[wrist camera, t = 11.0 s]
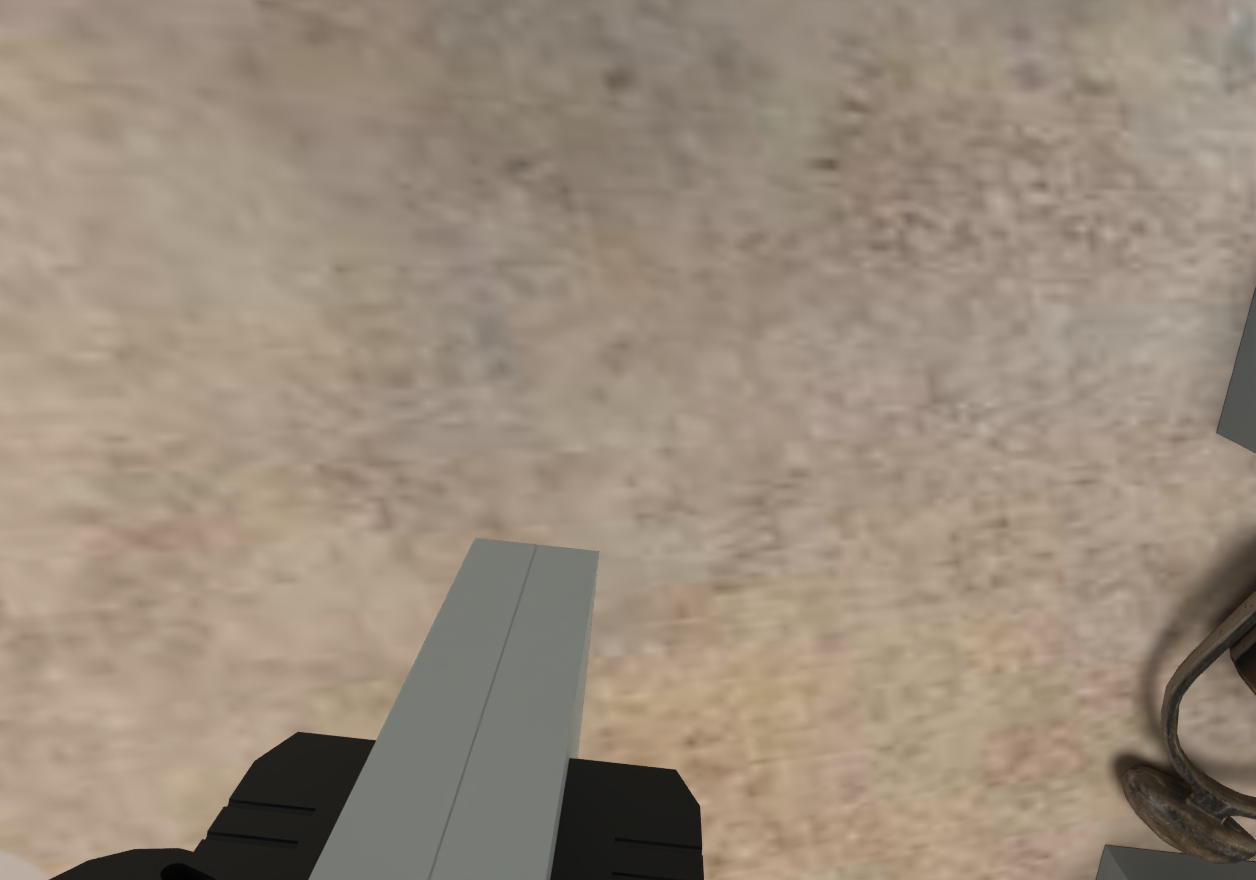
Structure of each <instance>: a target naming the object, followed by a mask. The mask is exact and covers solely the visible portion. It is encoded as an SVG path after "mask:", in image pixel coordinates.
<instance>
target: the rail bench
mask: <svg viewBox="0 0 1256 880" xmlns="http://www.w3.org/2000/svg"><path fill="white" fill-rule="evenodd" d="M1217 434H1219V435H1221V436H1223V437H1225V438H1227V439H1229V440H1231V441H1233V442H1235V443H1237V444H1239V445H1241V446H1243V447H1245V448H1247V449H1249V450H1250V451H1252V452H1254V453H1256V289H1255V293H1254V297H1253V300H1252V304H1251V308H1250V312H1249V315H1248V319H1247V323H1246V326H1245V330H1244V334H1243V338H1242V341H1241V345H1240V349H1239V352H1238V356H1237V360H1236V363H1235V367H1234V371H1233V375H1232V378H1231V382H1230V386H1229V389H1228V393H1227V397H1226V400H1225V404H1224V408H1223V412H1222V415H1221V419H1220V423H1219V426H1218V430H1217ZM1096 880H1256V862H1250V861H1242V862H1239V863H1236V864H1215V863H1212V862H1209V861H1205V860H1202V859H1199V858H1196V857H1193V856H1190V855H1187V854H1179V853H1170V852H1161V851H1153V850H1144V849H1135V848H1126V847H1117V846H1108V845H1105V849H1104V852H1103V856H1102V860H1101V863H1100V867H1099V871H1098V875H1097V878H1096Z"/></svg>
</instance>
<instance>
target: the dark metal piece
mask: <svg viewBox="0 0 1256 880" xmlns="http://www.w3.org/2000/svg"><path fill="white" fill-rule="evenodd" d="M1228 648H1229V649H1230V656H1231V659H1232V661H1233V663H1234V665H1235V667H1236V669H1237V671H1238V673H1239V675H1240V676H1241V678H1242V679H1243V680H1244V681H1245V683H1246V684H1247V685H1248V686H1249V688H1250V689H1251V690H1252V691H1253V693H1254V694H1255V695H1256V590H1255V591H1254V592H1253V593H1252V594H1251V595H1250V596H1249V597H1248V598H1247V599H1246V600H1245V601H1244V602H1243V603H1242V604H1241V605H1240V606H1239V607H1238V608H1237V609H1236V610H1235V611H1234V612H1233V613H1232V614H1231V615H1230V616H1228V617H1227V618H1226V619H1225V620H1224V621H1223V622H1222V623H1221V624H1220V625H1219V626H1218V627H1217V628H1216V629H1215V630H1214V631H1213V632H1212V633H1211V634H1210V635H1209V636H1208V637H1207V638H1206V639H1205V640H1204V641H1203V642H1202V643H1201V644H1200V645H1199V646H1198V647H1197V648H1196V649H1195V650H1194V651H1193V652H1192V653H1191V654H1190V655H1189V656H1188V657H1187V658H1186V659H1185V660H1184V661H1183V663H1182V664H1181V665H1180V666H1179V667H1178V669H1177V670H1176V672H1175V673H1174V675H1173V676H1172V678H1171V680H1170V681H1169V683H1168V684H1167V686H1166V690H1165V695H1164V700H1163V705H1162V710H1161V723H1160V724H1161V729H1162V734H1163V739H1164V743H1165V747H1166V750H1167V753H1168V756H1169V759H1170V761H1171V762H1172V764H1173V766H1174V768H1175V770H1176V771H1177V772H1178V773H1179V774H1180V775H1181V776H1182V777H1183V778H1184V780H1185V781H1186V782H1187V783H1184V782H1182V781H1180V780H1177V779H1175V778H1173V777H1170V776H1168V775H1166V774H1163V773H1161V772H1159V771H1156V770H1154V769H1152V768H1148V767H1145V766H1137V767H1133V768H1131V769H1129V770H1127V771H1126V772H1125V773H1124V775H1123V777H1122V786H1123V790H1124V793H1125V797H1126V799H1127V800H1128V802H1129V803H1130V805H1131V807H1132V808H1133V810H1134V811H1135V813H1136V814H1137V815H1138V816H1139V817H1140V818H1141V819H1142V821H1143V822H1144V823H1145V824H1146V825H1147V826H1148V827H1149V828H1150V829H1151V830H1152V831H1153V832H1154V833H1155V834H1156V835H1157V836H1158V837H1159V838H1161V839H1162V840H1163V841H1165V842H1166V843H1167V844H1169V845H1170V846H1172V847H1174V848H1176V849H1178V850H1180V851H1182V852H1183V853H1185V854H1187V855H1190V856H1193V857H1196V858H1199V859H1202V860H1205V861H1209V862H1212V863H1215V864H1236V863H1239V862H1242V861H1245V860H1247V859H1250V858H1252V857H1253V856H1255V855H1256V840H1255V839H1254V838H1253V837H1252V836H1251V835H1250V834H1249V833H1248V832H1247V831H1246V830H1245V829H1243V828H1242V827H1241V826H1240V825H1239V824H1238V823H1237V822H1236V821H1235V820H1233V819H1232V818H1231V817H1230V816H1242V817H1247V818H1251V819H1256V797H1252V796H1248V795H1244V794H1241V793H1239V792H1236V791H1234V790H1232V789H1230V788H1228V787H1225V786H1223V785H1222V784H1220V783H1219V782H1217V781H1215V780H1214V779H1212V778H1210V777H1209V776H1207V775H1206V774H1204V773H1202V772H1201V771H1200V770H1199V769H1198V768H1197V767H1196V766H1195V765H1194V764H1193V763H1192V762H1191V761H1190V760H1189V759H1188V758H1187V756H1186V754H1185V753H1184V751H1183V750H1182V748H1181V747H1180V743H1179V740H1178V736H1177V725H1178V714H1179V704H1180V702H1181V699H1182V697H1183V695H1184V693H1185V692H1186V691H1187V690H1188V688H1189V687H1190V686H1191V685H1192V683H1193V682H1194V681H1195V679H1196V678H1197V677H1198V676H1199V675H1200V674H1202V673H1203V672H1204V671H1205V670H1206V669H1207V668H1208V667H1209V666H1210V665H1211V664H1212V663H1213V662H1214V661H1215V660H1216V659H1217V658H1218V657H1219V656H1220V655H1221V654H1222V653H1223V652H1224V651H1226V650H1227V649H1228Z"/></svg>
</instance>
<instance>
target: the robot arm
mask: <svg viewBox="0 0 1256 880" xmlns="http://www.w3.org/2000/svg"><path fill="white" fill-rule="evenodd" d="M598 558H599V551H591V550H582V549H573V548H564V547H554V546H545V545H536V544H527V543H518V542H509V541H500V540H491V539H482V538H475V539H474V541H473V543H472V545H471V547H470V549H469V552H468V554H467V556H466V558H465V560H464V562H463V564H462V566H461V568H460V570H459V572H458V574H457V576H456V578H455V580H454V582H453V584H452V586H451V588H450V591H449V593H448V595H447V597H446V599H445V601H444V603H443V605H442V607H441V609H440V611H439V613H438V615H437V617H436V619H435V621H434V623H433V625H432V627H431V629H430V632H429V634H428V636H427V638H426V640H425V642H424V644H423V646H422V648H421V650H420V652H419V654H418V656H417V658H416V660H415V662H414V664H413V666H412V668H411V670H410V673H409V675H408V677H407V679H406V681H405V683H404V685H403V687H402V689H401V691H400V693H399V695H398V697H397V699H396V701H395V703H394V705H393V707H392V709H391V711H390V714H389V716H388V718H387V720H386V722H385V724H384V726H383V728H382V730H381V732H380V734H379V736H378V738H377V740H367V739H358V738H349V737H340V736H331V735H322V734H313V733H304V732H297V733H295V734H294V735H292V736H291V737H289V738H288V739H286V740H285V741H284V742H282V743H281V744H279V745H278V746H276V747H275V748H273V749H272V750H270V751H269V752H267V753H266V754H264V755H263V756H261V757H260V758H258V759H257V760H255V761H254V763H253V764H252V766H251V767H250V768H249V770H248V771H247V773H246V774H245V776H244V777H243V779H242V780H241V782H240V783H239V785H238V786H237V788H236V789H235V791H234V792H233V794H232V795H231V797H230V798H229V803H228V806H227V807H225V806H224V807H223V809H222V810H221V812H220V813H219V815H218V816H217V818H216V819H215V821H214V822H213V824H212V825H211V827H210V828H209V830H208V832H207V837H206V839H205V840H204V839H202V840H201V842H200V843H199V845H198V846H197V848H196V849H195V851H194V852H192V851H188V850H184V849H180V848H165V849H133V850H129V851H125V852H121V853H117V854H113V855H109V856H105V857H101V858H97V859H92V860H88V861H86V862H84V863H82V864H80V865H78V866H76V867H74V868H72V869H70V870H68V871H66V872H64V873H62V874H60V875H58V876H56V877H54V878H52V879H50V880H704V871H703V855H702V833H701V814H700V805H699V804H698V802H697V801H696V799H695V798H694V796H693V795H692V793H691V792H690V790H689V789H688V787H687V786H686V784H685V783H684V781H683V780H682V778H681V777H680V775H679V774H678V772H677V771H676V770H674V769H665V768H656V767H647V766H638V765H629V764H620V763H611V762H602V761H593V760H584V759H577V758H578V751H579V742H580V732H581V723H582V713H583V703H584V693H585V684H586V674H587V664H588V655H589V645H590V635H591V625H592V616H593V606H594V596H595V587H596V577H597V567H598Z"/></svg>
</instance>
